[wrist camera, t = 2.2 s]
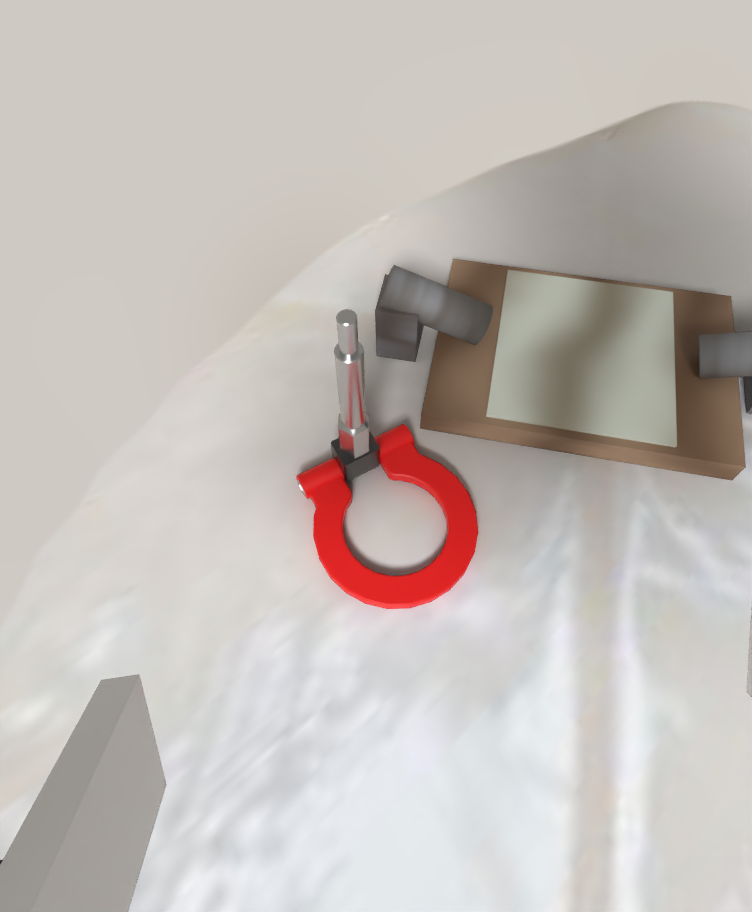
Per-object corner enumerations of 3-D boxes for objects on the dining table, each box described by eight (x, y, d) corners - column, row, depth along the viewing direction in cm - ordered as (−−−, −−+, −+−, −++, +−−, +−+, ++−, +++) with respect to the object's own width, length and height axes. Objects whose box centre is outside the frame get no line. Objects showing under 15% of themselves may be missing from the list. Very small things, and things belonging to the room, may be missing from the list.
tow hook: (505, 561, 32) (415, 424, 36) (577, 445, 21) (432, 260, 24) (362, 642, 30) (281, 489, 34) (353, 564, 19) (232, 345, 23)
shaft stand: (779, 321, 39) (836, 250, 34) (801, 491, 33) (873, 437, 28) (398, 269, 42) (399, 196, 37) (359, 418, 36) (354, 356, 31)
